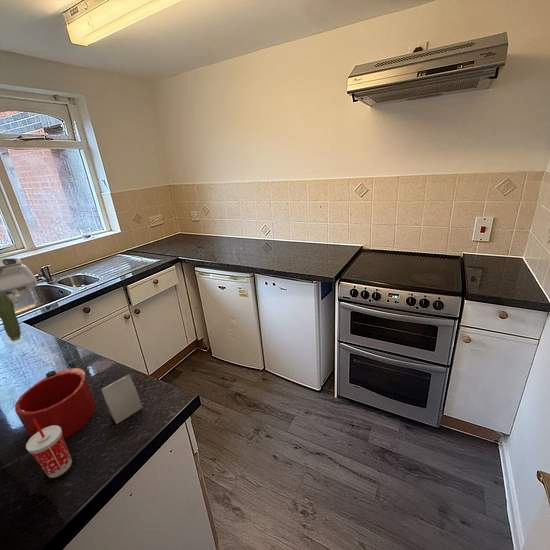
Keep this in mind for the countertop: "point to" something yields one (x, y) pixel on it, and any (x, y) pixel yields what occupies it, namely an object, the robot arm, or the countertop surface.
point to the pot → (57, 404)
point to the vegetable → (9, 317)
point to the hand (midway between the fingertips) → (4, 307)
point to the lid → (63, 372)
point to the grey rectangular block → (122, 399)
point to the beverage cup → (50, 450)
